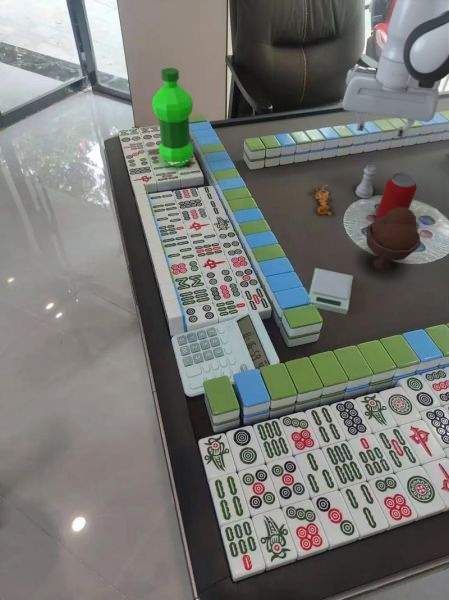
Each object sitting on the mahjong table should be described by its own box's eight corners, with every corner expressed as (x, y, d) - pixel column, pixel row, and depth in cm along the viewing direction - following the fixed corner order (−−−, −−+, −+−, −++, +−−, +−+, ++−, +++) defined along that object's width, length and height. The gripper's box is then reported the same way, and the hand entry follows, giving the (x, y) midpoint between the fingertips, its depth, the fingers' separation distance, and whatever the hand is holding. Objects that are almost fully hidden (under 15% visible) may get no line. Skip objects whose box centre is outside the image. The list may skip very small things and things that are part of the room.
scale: (350, 283, 93) (353, 273, 90) (345, 318, 86) (348, 307, 84) (313, 276, 94) (315, 265, 92) (305, 309, 88) (308, 298, 85)
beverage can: (404, 217, 108) (421, 175, 100) (400, 232, 104) (417, 190, 95) (377, 210, 110) (391, 168, 101) (372, 225, 106) (386, 182, 97)
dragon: (314, 217, 108) (317, 205, 105) (310, 191, 116) (312, 179, 113) (332, 218, 108) (335, 205, 105) (326, 192, 116) (329, 180, 113)
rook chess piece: (374, 193, 116) (382, 166, 110) (368, 201, 113) (376, 174, 107) (358, 187, 117) (366, 161, 111) (352, 195, 115) (359, 168, 109)
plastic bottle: (152, 162, 125) (140, 70, 107) (180, 149, 130) (174, 60, 112) (173, 176, 120) (164, 82, 102) (202, 163, 125) (199, 71, 107)
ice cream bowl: (349, 253, 99) (366, 198, 88) (397, 251, 100) (419, 196, 89) (362, 286, 92) (382, 231, 81) (413, 283, 93) (440, 228, 82)
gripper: (347, 70, 92) (334, 132, 102) (448, 82, 88) (424, 145, 98) (350, 59, 96) (337, 120, 106) (447, 71, 92) (423, 133, 102)
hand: (379, 132), depth 102 cm, fingers open, 8 cm apart
